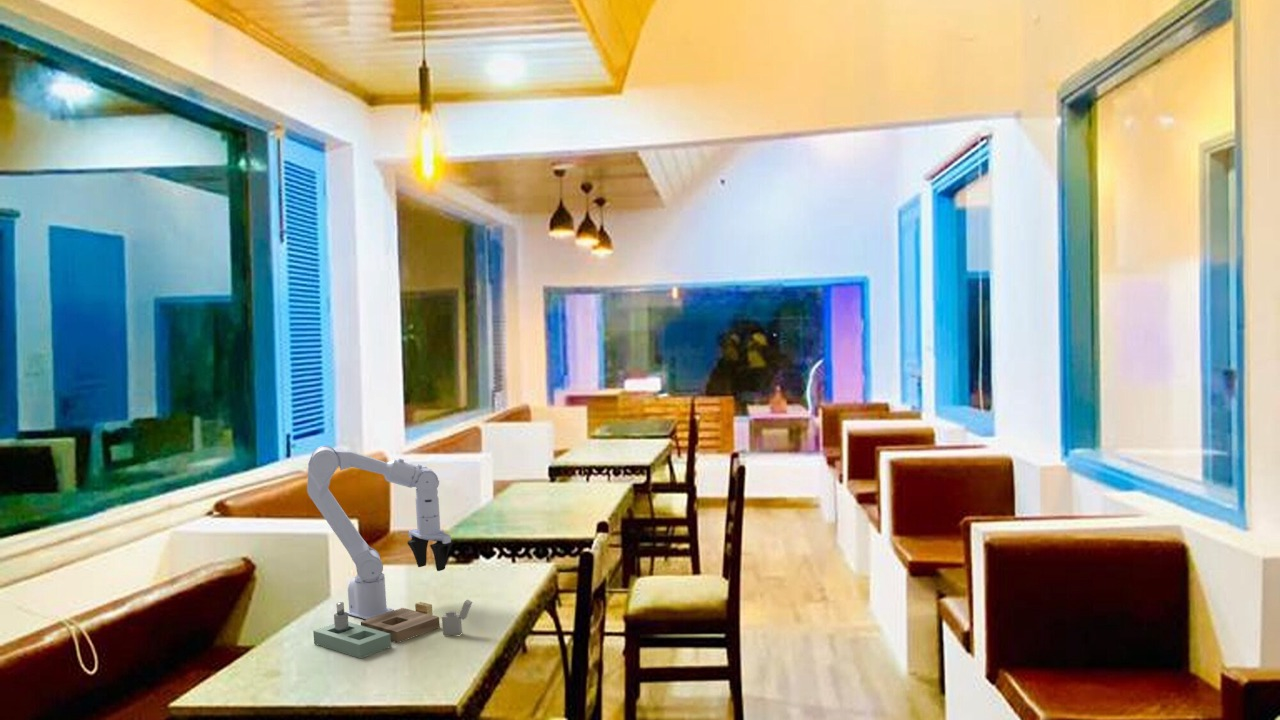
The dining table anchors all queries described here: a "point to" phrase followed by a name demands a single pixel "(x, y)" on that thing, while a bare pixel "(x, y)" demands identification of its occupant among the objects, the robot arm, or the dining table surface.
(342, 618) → the grey stepped cylinder
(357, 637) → the drill rack
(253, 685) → the dining table surface
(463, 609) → the lighter
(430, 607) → the light wooden block
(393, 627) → the socket block
